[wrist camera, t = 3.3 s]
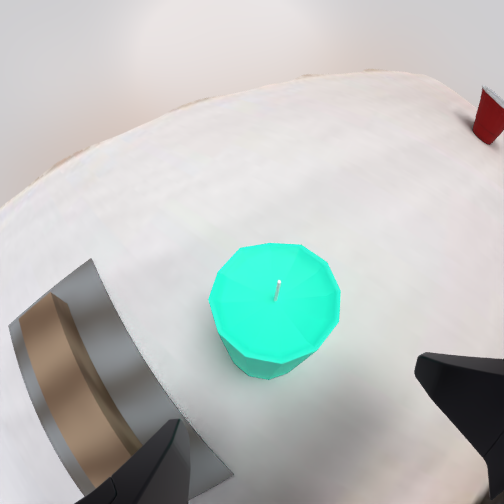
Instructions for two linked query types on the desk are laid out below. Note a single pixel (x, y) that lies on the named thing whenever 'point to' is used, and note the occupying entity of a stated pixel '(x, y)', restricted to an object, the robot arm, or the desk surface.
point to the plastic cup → (489, 116)
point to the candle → (274, 307)
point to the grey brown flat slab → (96, 385)
